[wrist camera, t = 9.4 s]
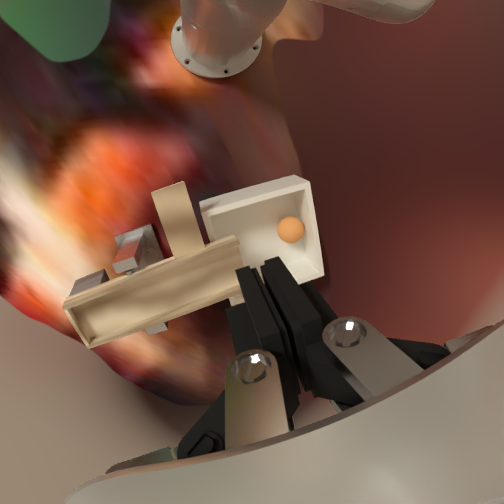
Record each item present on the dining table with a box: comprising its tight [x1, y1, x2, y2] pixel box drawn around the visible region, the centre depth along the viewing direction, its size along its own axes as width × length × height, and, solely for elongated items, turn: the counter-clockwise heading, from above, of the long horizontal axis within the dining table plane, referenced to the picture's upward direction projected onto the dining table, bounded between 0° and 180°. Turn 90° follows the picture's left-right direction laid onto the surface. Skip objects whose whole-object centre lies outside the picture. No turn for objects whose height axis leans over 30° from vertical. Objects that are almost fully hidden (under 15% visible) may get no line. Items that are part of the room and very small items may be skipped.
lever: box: [62, 181, 244, 349], centre depth 37 cm, size 16×24×8 cm, turn 104°
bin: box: [199, 175, 324, 306], centre depth 43 cm, size 15×15×6 cm
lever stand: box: [112, 223, 168, 335], centre depth 40 cm, size 13×6×10 cm, turn 14°
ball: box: [277, 216, 304, 243], centre depth 44 cm, size 4×4×4 cm
